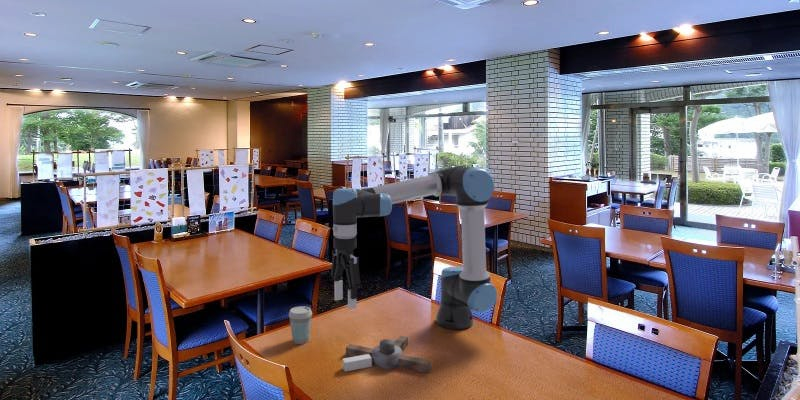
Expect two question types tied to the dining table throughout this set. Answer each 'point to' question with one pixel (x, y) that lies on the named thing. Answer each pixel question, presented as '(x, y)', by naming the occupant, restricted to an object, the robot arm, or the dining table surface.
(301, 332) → the coffee cup
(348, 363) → the folding leg
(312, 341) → the dining table surface
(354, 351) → the stool base
